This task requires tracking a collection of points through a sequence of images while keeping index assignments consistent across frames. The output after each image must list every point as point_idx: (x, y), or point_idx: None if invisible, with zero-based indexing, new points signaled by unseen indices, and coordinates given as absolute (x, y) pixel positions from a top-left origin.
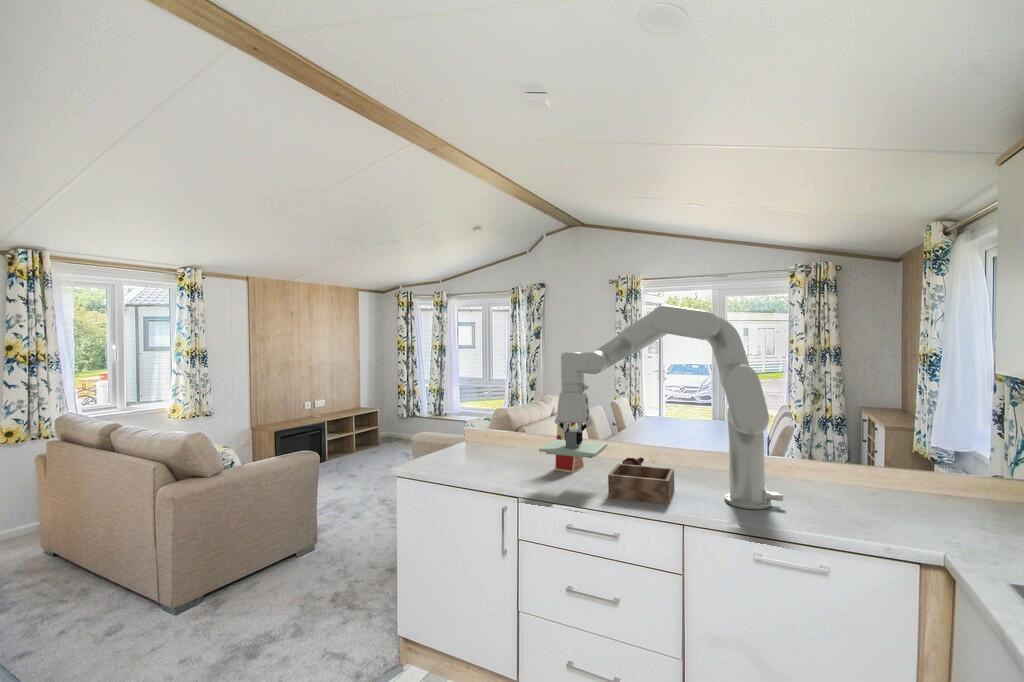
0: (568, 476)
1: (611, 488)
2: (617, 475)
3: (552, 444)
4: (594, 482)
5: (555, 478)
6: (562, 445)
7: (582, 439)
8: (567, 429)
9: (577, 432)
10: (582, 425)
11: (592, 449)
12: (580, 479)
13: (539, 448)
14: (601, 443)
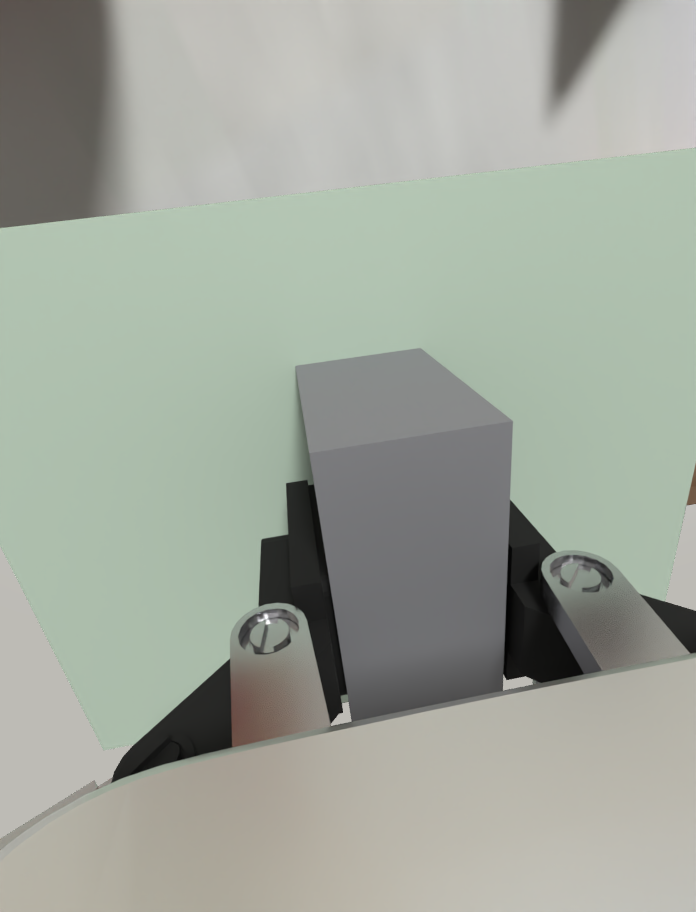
0: (126, 75)
1: None
2: (691, 497)
3: (98, 562)
4: (387, 152)
5: (70, 193)
6: (240, 547)
7: (510, 504)
8: (331, 718)
9: (512, 665)
10: (658, 659)
11: (610, 540)
12: (260, 121)
13: (106, 749)
14: (684, 191)
